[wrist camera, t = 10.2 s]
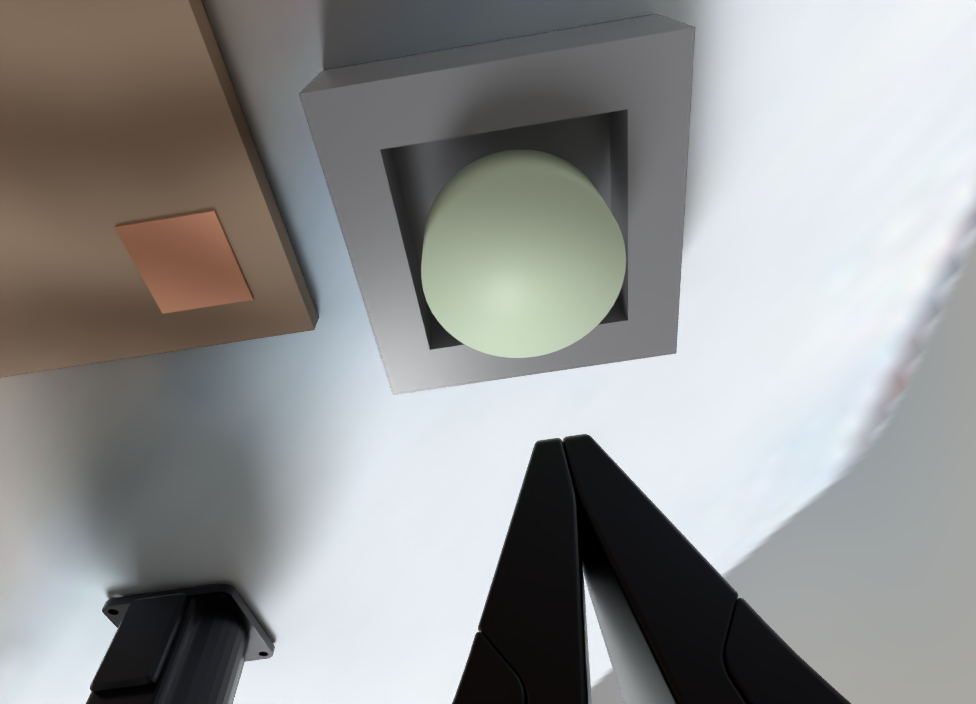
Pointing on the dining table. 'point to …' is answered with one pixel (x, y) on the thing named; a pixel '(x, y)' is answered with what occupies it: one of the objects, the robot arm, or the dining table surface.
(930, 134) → the dining table surface
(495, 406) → the dining table surface
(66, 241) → the colouring board
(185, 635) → the robot arm
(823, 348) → the dining table surface
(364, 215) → the button housing
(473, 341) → the button
